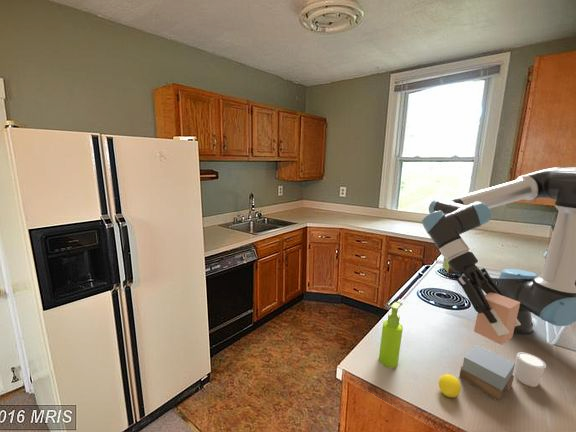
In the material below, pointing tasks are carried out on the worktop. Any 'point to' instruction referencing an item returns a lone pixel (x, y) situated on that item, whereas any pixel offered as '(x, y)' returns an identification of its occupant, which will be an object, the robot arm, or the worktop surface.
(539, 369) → the white cylinder
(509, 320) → the terracotta block
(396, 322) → the soap dispenser
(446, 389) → the lemon
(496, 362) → the tower top block
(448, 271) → the protein box
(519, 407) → the worktop surface
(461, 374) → the tower base block
